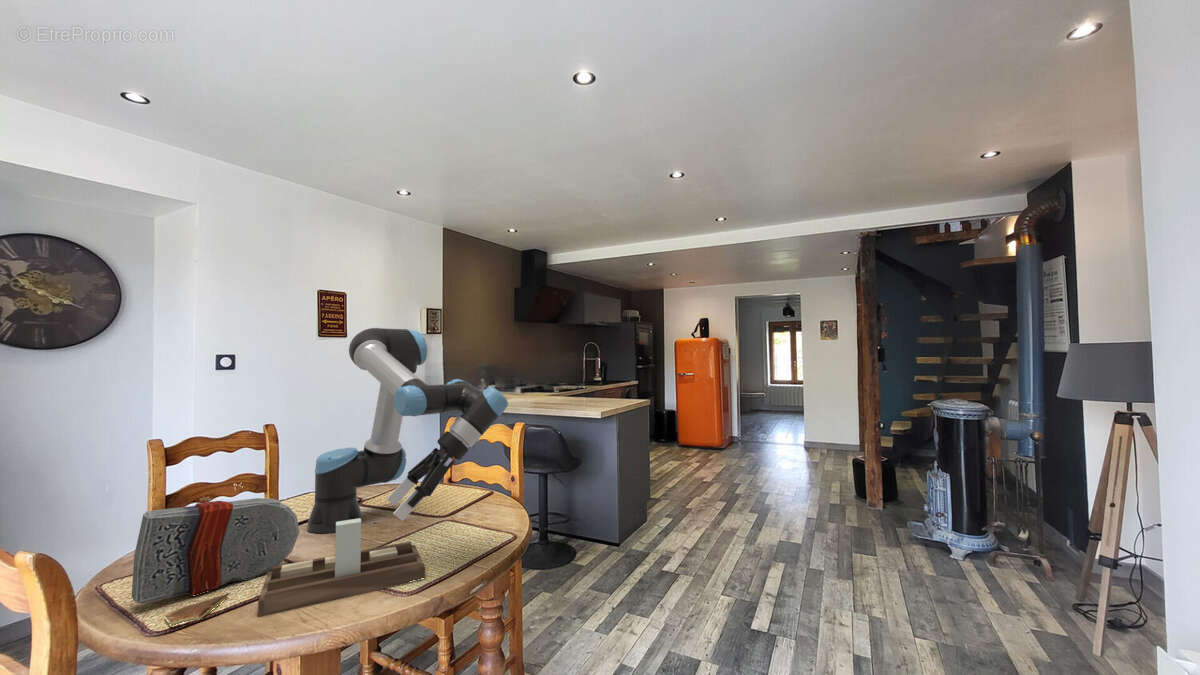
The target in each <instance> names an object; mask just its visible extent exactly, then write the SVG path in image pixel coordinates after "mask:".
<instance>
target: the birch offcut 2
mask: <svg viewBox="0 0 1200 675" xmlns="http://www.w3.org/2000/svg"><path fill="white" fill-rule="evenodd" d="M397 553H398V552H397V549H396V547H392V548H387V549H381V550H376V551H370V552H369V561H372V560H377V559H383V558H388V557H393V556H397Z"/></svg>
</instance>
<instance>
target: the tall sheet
mask: <svg viewBox="0 0 1200 675" xmlns="http://www.w3.org/2000/svg"><path fill="white" fill-rule="evenodd" d="M361 546H362V522H361V518H358V519H352V520H345V521H339V522H336V532H335V546H334V547H335V550H334V551H335V552H334V554H335V578H337V577H342V576H347V575H351V574H356V573H360V564H361V550H362V547H361Z"/></svg>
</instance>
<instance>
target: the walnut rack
mask: <svg viewBox="0 0 1200 675" xmlns="http://www.w3.org/2000/svg"><path fill="white" fill-rule="evenodd" d="M392 547H396V549H397V552H398V553H397V556H393V557H388V558H383V559H377V560H372V561H369V552H370V551H376V550H381V549H387V548H392ZM331 556H332V555H331ZM331 556H330V555H329V556H324V557H323V556H322V557H318V558H312V559H311V560H313V572H310V573H305V574H300V575H295V576H290V577H284V578H280V575H281V568H282V565H287V564H288V563H286V564H279V565H278V566H273V568H272V570H270V571H268V572H266V576H265V579H264V582H263V585H262V588H261V592H260V594H259V599H258V603H257V606H258V607H257V617H262V616H267V615H272V614H277V613H280V612H285V611H289V610H294V609H298V608H299V609H300V608H303V607H308V606H312V605H316V604H317V605H318V604H320V603H321V604H322V603H326V602H329V601H334V600H338V599H339V600H340V599H342V598H343V599H344V598H349V597H353V596H356V595H362V594H366V593H370V592H374V591H379V590H384V589H388V588H387V587H389V588H392V587H391V586H393V587H396V586H395V585H398V586H401V585H400V584H402V585H405V584H404V583H407V584H409V583H408V582H410V581H413V580H418V579H421V578H425V579H426V576H425V575H426V566H425V564H424V562H423V559H422V557H421V555H420V553H419V551H418V548H417V546H416V545H415V544H413V543H412V542H411V541H407V542H400V543H396V544H390V545H384V546H379V547H374V548H373V547H372V548H368V549H361V564H360V573H356V574H351V575H347V576H342V577H337V578H335V568H331V569H326V570H325V558H326V557H331ZM333 556H335V555H333ZM309 560H310V559H307V560H302V561H300V562H304V561H309ZM298 562H299V561H296V562H290V563H289V564H293V563H298Z"/></svg>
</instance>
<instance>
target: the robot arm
mask: <svg viewBox="0 0 1200 675" xmlns="http://www.w3.org/2000/svg"><path fill="white" fill-rule="evenodd" d="M348 355H349V358H350V360H351V361H352V363H354V365H356V367H357V368H359V369H360V370H363V371H367V372H368V373H369V374H371V376H372V377H374V379H376V380H377V381H378V382H379V383H380V386H379V390H378V391H379V392H378V395H377V396H378V397H377V402H376V406H375V411H374V412H375V413H374V417H373V418H374V419H373V424H372V429H371V435H370V438H369V439H367V440H366V441H365V443H364V447H363V450H358V449H357V448H356V447H344V448H338V449H334V450H333V449H332V450H329V451H325V452H323V453H322V454H320V455H319V456H318V457H316V460H315V469H314V473H315V474H314V475H315V476H314V478H315V479H314V480H315V481H314V504H313V506H312V509H311V512H310V515H309V517H308V521H307V531H308V532H309V533H312V534H332V533H336V522H339V521H345V520H352V519H358V518H361V523H362V522H363V512H362V510H361V507H360V504H359V502H358V501H359V500H358V497H357V492H358V491H357V490H358V488H363V487H368V486H372V485H377V484H386V483H389V482H392V481H396V480H397V479H399V478H401V476H402V475H403V473H404V471H405V469H406V466H407V458H406V457H407V453H406V451H405V449H404V448H403V447H402V446H403V445H402V443H401V442H400V441H399V438H400V434H401V433H400V432H401V428H402V427H401V426H402V422H403V417H420V416H426V415H428V416H429V415H435V414H446V413H457V412H460V413H461V415H460V416H459V417H458V418H457V419H456V420H455V421H454V422H453V423H452V424H451V425H450V426H449V429H448V430H449V431H444V433H443V434H442V435H441V436H440V437H439V438H438V439H437V444H438V445H439V446H440V448H437V447H435V448H433V449H432V451H431V452H429V454H428V455H426V456H425V457H424V458H423V459H422V460H420V461H419V462H418V463H417V464H416V465H415V466H414V467H412V468H411V469H410V470H409V471H408V472H407V476H406V478H404V480H403V481H401V483H400V484H399V485H398V486H397V487H396V488H395V489H394V490H393V491H392V492H391V493H390V494H389V495H388V497H387V498H386V500H387V501H388V502H389V503H391V504H392V505H393V506H394V507H395V506H397V505H398V504H399V503H400V501H401V500H403V498H404V497H405V496H406V495H407V494H408V492H410V491H411V489H412V488H414V490H413V491H412V492H411V493H410V494H409V495H408V496H407V498H405V500H404V501H403V502H401V504H400V505H399V506H398V507H397V508H396V510H394V512H393V513H392V514H393V515H394V516H396V517H397V518H398V519H400V520H401V521H402V522H403V521H404V520H405V519H406V518H407V517H408V516H409V515H410V514H411V513H412V511H413V510H415V508H416V507H417V506H418V505H419V504H420V503H421V502H422V501H423V499H424V498H427V497H429V498H430V497H431V496H432V494H433V493H434V491H435V490H436V488H437V487H438V486H439V484H440V483H441V481H442V479H443V478H444V477H445V475H446V474H447V472H448V471H449V470H450V468H451V467H452V466H453V465H454V463H455V461H454V460H453V458H454V459H455V460H456V461H460V460H462V459H463V457H464V456H465V455H466V454H468V452H469V448H472V447H473V446H474V445H475V444H476V443H477V444H478V443H479V442H480V438H482V436H483V435H484V434H485V433H486V432H487V431H488V430H489V428H490V427H491V426H492V425H493V424H494V423H495V422H496V421H497V420H498V419H499V418H500V417H501V416H502V414H504V412H505V410H506V409H507V408H508V406H509V401H508V399H507V398H506V397H505V395H503V393H501V392H500V391H499V390H497V389H496V388H495V387H493V386H488V387H487V388H486V389H484V390H482V391H481V390H480V389H478V388H477V387H475V386H474V385H472V384H471V383H469V382H467V381H465V380H462V379H459V378H456V379H455V378H454V379H452V380H450V381H448V382H447V383H446V384H427V383H426V382H424V381H423V380H422V379H421V378H419V376H417V375H416V374H417V369H418V366H421V365H423V364H424V363H425V362H426V361H427V357H428V345H427V342H426V339H425V337H424V335H423V334H422V333H421V332H420V331H418V330H413V329H407V328H380V327H371V328H367V329H364V330H362V331H359V333H357V334H356V335H355V336H354V337H353V338H352V339H351V341H350V343H349V346H348ZM422 478H423V479H422ZM421 479H422V481H421V482H420V484H419V485H418V483H419V480H421ZM415 485H416V486H415ZM414 486H415V487H414Z"/></svg>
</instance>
